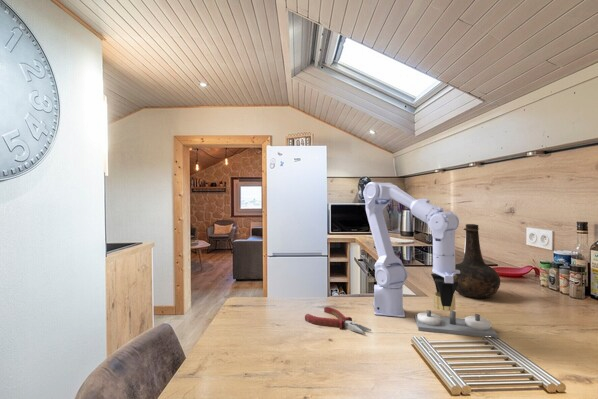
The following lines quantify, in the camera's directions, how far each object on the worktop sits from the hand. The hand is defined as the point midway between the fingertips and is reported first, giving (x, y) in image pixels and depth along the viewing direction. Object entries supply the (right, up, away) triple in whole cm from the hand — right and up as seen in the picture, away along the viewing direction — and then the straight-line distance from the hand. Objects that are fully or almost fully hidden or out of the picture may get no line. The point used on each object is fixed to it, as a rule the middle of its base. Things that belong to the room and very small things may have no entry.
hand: (444, 302), depth 85 cm
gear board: (+4, -8, +3) cm, 10 cm away
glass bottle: (+28, -9, +34) cm, 45 cm away
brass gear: (0, -1, 0) cm, 1 cm away
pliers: (-31, -9, +6) cm, 33 cm away
